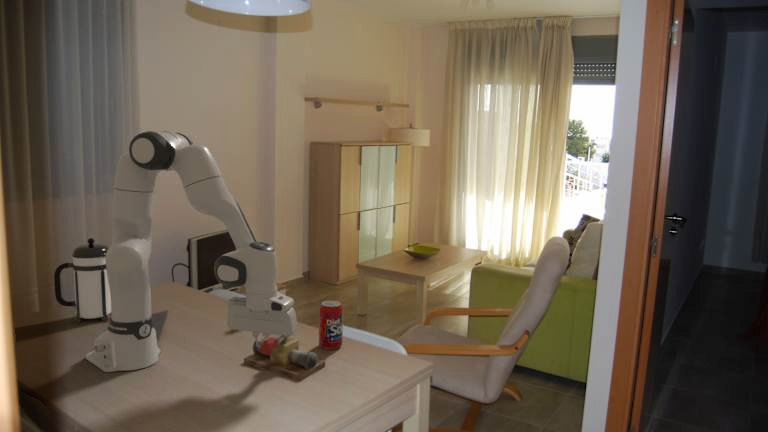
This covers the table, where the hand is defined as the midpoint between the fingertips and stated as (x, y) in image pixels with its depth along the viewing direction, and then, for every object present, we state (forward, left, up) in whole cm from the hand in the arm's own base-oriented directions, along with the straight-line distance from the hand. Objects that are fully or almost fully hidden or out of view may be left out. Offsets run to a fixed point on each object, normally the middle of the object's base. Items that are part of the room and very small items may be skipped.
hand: (261, 346), depth 165 cm
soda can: (+2, +31, -10) cm, 33 cm away
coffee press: (-86, +3, -10) cm, 86 cm away
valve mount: (-1, +11, -10) cm, 15 cm away
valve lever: (+1, +5, -1) cm, 5 cm away
